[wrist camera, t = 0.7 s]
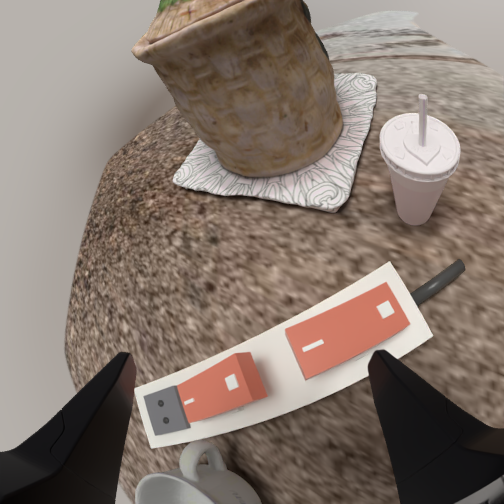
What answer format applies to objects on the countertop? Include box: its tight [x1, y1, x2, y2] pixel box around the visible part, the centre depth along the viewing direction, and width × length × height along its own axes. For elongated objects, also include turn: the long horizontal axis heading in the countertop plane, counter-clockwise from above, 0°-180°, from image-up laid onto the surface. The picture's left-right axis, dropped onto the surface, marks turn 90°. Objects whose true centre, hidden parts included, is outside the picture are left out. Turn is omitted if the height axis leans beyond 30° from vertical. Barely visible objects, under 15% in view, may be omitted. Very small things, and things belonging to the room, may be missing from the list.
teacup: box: [135, 440, 262, 504], centre depth 17 cm, size 14×11×8 cm
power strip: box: [134, 259, 465, 448], centre depth 21 cm, size 7×34×4 cm, turn 112°
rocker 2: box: [285, 282, 410, 381], centre depth 18 cm, size 4×8×2 cm, turn 112°
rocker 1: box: [177, 352, 268, 423], centre depth 20 cm, size 4×8×2 cm, turn 112°
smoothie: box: [380, 94, 460, 226], centre depth 18 cm, size 6×6×14 cm
